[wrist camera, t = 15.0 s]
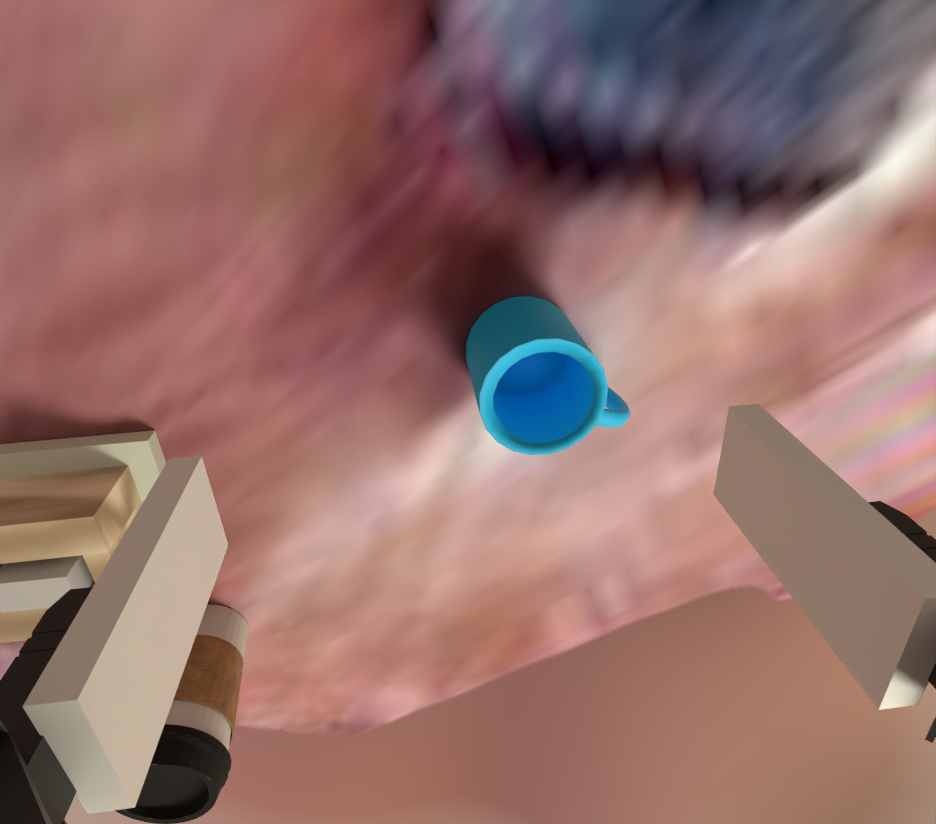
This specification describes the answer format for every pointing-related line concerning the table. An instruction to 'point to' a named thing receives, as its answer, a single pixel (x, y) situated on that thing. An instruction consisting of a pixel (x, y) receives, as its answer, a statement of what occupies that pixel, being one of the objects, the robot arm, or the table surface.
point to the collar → (62, 525)
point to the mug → (537, 378)
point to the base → (138, 450)
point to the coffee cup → (197, 725)
